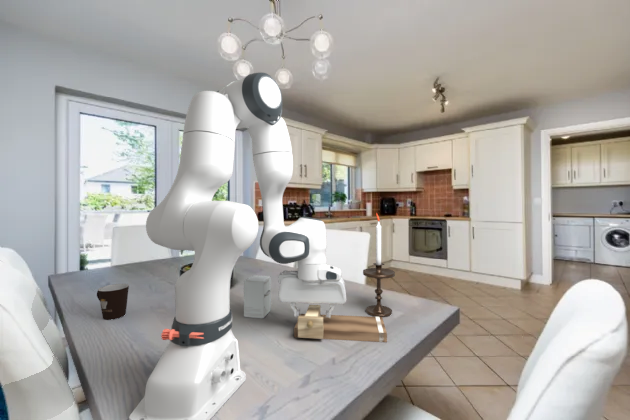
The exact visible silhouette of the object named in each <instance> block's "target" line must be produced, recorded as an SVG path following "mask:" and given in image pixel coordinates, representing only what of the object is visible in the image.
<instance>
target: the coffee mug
mask: <svg viewBox="0 0 630 420" xmlns="http://www.w3.org/2000/svg"><path fill="white" fill-rule="evenodd" d="M129 288H130V284H128V283H116V284H115V283H114V284H110V285H109V284H108V285H104V286H102V287H100V288H98V289H97V292H96V297H97V299H98V301H99V304H100V311H101V315H102V319H103V320H104V321H112V320H111V319H113V320H116V319H117V318H118V319H120V317H121V318H123V317H124V315H125V314H127V306H128V296H129V290H130V289H129ZM125 316H126V315H125Z"/></svg>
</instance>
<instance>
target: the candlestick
mask: <svg viewBox="0 0 630 420" xmlns="http://www.w3.org/2000/svg"><path fill="white" fill-rule="evenodd" d="M375 216H376V220H377V225H375V262H374V263H372V265H374V266H375V267H369V268H364V269H363V270H362V275H363V276H365V277H367V278H372V279H376V288H375V289H374V292H375V294H376V296H375V298H374V299H375V300H376V304H372V305H368V306H366V307H365V313H366V314H367V315H368V316H370V317H382V318H388V317H391V316H392V315H391V314H393V310H392V308H391V307H389V306H385V305H382V302H381V300H383V296H382V294H383V292H384V291H383V289H382V288H381V287H382V284H381V280H383V279H391V278H393V277H395V276H396V274H395V271H394V270H392V269H389V268H383V266H385V263H382V225H381V223H380V221H381V220H380V217H379V215H378V213H377V212H376V215H375ZM390 315H391V316H390Z"/></svg>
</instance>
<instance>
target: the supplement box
mask: <svg viewBox="0 0 630 420" xmlns="http://www.w3.org/2000/svg"><path fill="white" fill-rule="evenodd" d="M271 278H272V277H271V275H251V276H249V277H248V278H246V279H244V280H243V317H244V318H254V319H264V318H265V317H266V316H267V314H269V313H270V312H271V310H272V300H271V299H272V293H271V292H272V289H271V288H272V279H271Z"/></svg>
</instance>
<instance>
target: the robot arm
mask: <svg viewBox="0 0 630 420" xmlns="http://www.w3.org/2000/svg"><path fill="white" fill-rule="evenodd" d="M186 112H187V113H186V115H185V121H184V125H183V132H182V133H183V134H182V143H181V150H180V158H179V163H178V164H179V165H178V169H177V173H176V176H175V179H174V181H173V183H172V185H171V187H170V189H169V191H168V192H167V194H166V196H165V197H164V198H163V200H161V202H160V203H158V205H156V206H155V207H154V208H153V209H152V210H151V211H150V212H149V213H148V215H147V217H146V221H145V222H146V223H145V230H146V234H147V236H148V238H149V239H150V241H151V242H152V243H154V244H156V245H158V246H160V247H164V248H167V249H170V250H175V251H194V256H193V257H194V258H193V262H192V265H191V267H190V269H188V270H186V271H184V272H183V273H182V274H181V275H180V276H179V277H178V278H177V280H176V281H175V284H174V298H175V299H174V300H175V301H174V303H175V304H174V305H175V316H174V318H173V320H172V324H171V328H170V329H169V328H164V329H163V330H162V332H161V333H160V334H161V335H160V336H161V340H162V341H167V340H169V342H168V344H167V346H166V348H165V349H164V351H162V354H161V356H160V358H159V359H158V362H157V363H156V364H155V367H154V369H153V370H152V372H151V373H150V374H149V377H148V379H147V381H146V383H145V391H144V392H145V393H144V396H143V397H142V398H141V400H140V402H138V404H137V406H136V407H135V408H134V409H133V410H132V412H131V413H130V415H129V416H128V420H211V419H212V418H213V417H214V415H216V414H217V412H218V411H220V409H221V408H222V407H223V406H224V404H226V402H227V401H228V400H229V399H230V398H231V397H232V396H233V395H234V394H235V392H236V391H237V390H238V389H239V388H240V387H241V386H242V385H243V384H244V383H245V381H246V380H247V375H246V372H245V371H243V370H242V369H241V362H240V361H241V360H240V351H239V342H238V341H239V340H238V339H237V338H236V337H235V335H234V333H233V331H232V328H233V313H232V312H233V311H232V309H231V308H230V305H231V304H230V303H231V300H230V299H231V297H230V295H231V281H232V279H231V278H232V273H233V270H234V267H235V265H236V263H237V261H238V260H239V258H240V257H241V256H242V254H243V253H244V252H245V251H247V250H248V249H249V248H250V247H252V245H253V244H254V242H255V241H256V239H257V236H258V232H259V220H258V216H257V214H256V212H255V211H254V209H253V208H252V207H251V206H250V205H249V204H244V203H240V202H236V201H231V200H213V198H214V196H215V194H216V192H217V191H218V190H219V189H220V188H221V187H222V186H223V185H225V184H227V183H228V182H229V181H230V180H231V178H232V175H233V173H234V172H233V171H234V161H235V160H234V159H235V149H236V131H238V130H240V129H244V128H246V130H247V132H248V134H249V135H250V138H251V152H252V153H251V154H252V159H253V160H252V161H253V167H254V170H255V171H254V172H255V177H256V179H257V183H258V187H259V190H260V191H259V192H260V196H261V206H262V208H261V209H262V218H263V227H262V231H261V235H260V237H259V247H260V250H261V251H262V252H263V254H264V255H265V256H266V257H268V258H271V260H273V262H276V263H278V264H282V265H287V264H292V263H297V264H296V265H297V266H296V267H297V270H283V271H281V272H280V273H278V276H277V279H278V280H277V282H278V284H279V289H278V301H280V302H281V303H290V305H289V306H290V307H291V310H292V311H293V314H294V315H293V316H294V317H295V318H298V316H300V314H301V309H300V308H299V309H298V307H297V304H319V305H321V304H325V305H326V304H327V305H329V309H328V310H325V315H326V318H331V315H332V312H333V311H334V309H335V305H345V303H346V302H347V290H346V282H345V280H344V278H343V272H342V269H341V268H340V267H337V266H333V265H332V264H329V263H328V258H327V255H326V252H327V249H328V242H327V227H326V224H325V221H323V220H321V219H320V218H316V217H315V218H314V217H309V216H300V217H299V218H298V219H297V220H296V221H294V222H293V223H291V224H290V225H287V226H285V221H284V220H285V219H284V206H283V205H284V204H283V196H284V193H285V190H286V188H287V186H288V184H289V183H290V181H291V179H292V178H293V175H294V174H293V172H294V158H293V157H294V156H293V147H292V142H291V139H290V138H291V137H290V133H289V130H288V126H287V124H286V121H285V119H284V118H283V117H282V115H283V95H282V90H281V88H280V85H279V84H278V82H277V81H276V79H274V78H273V77H272V76H271V75H270V74H268V73H267V72H254V73H250V74H248V75H246V76H245V77H242V78H239V79H237V80H234V81H232V82H229V83H228V84H226V85H225V86H223V87H222V88H221V89H220V90H217V91H214V90H202V91H198V92H196V93H195V94H194V95H193V96H192V98H191V100H190V102H189V105H188V109H187V111H186Z"/></svg>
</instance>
